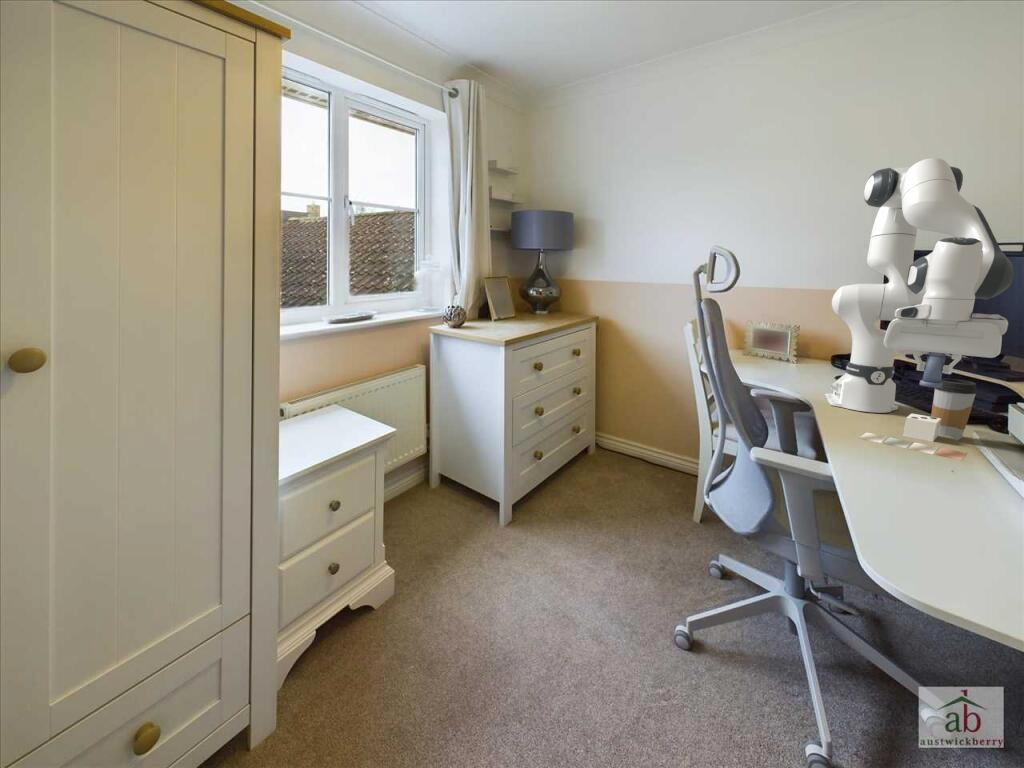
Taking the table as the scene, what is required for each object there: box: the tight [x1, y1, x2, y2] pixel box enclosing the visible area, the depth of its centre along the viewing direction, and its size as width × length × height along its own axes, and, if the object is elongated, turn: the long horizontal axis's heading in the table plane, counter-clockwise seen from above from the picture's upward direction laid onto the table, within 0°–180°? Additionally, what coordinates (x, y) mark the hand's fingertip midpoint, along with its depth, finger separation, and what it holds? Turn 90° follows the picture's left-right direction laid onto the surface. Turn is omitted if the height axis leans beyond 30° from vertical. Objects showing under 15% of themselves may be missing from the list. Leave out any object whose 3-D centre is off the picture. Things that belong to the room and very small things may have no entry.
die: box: [902, 413, 941, 442], centre depth 125 cm, size 6×6×6 cm
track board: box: [858, 432, 967, 461], centre depth 118 cm, size 22×8×1 cm, turn 41°
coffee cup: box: [930, 378, 978, 441], centre depth 127 cm, size 8×8×15 cm
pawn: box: [918, 352, 947, 389], centre depth 112 cm, size 4×4×9 cm
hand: (933, 372), depth 113 cm, fingers closed on pawn, 3 cm apart
